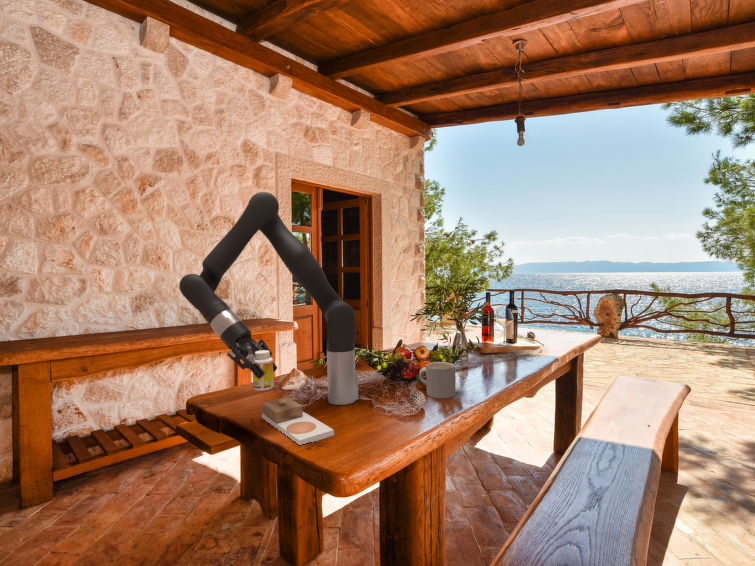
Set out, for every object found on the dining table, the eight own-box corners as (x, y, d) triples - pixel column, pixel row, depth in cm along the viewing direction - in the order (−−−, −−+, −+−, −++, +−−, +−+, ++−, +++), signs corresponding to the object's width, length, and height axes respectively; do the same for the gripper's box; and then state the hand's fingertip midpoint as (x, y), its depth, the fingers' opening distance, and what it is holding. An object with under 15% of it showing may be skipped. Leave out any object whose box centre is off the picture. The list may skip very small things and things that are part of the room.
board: (292, 409, 124) (292, 397, 124) (333, 435, 104) (333, 420, 104) (261, 417, 118) (261, 404, 118) (299, 446, 98) (299, 431, 98)
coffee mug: (461, 393, 136) (461, 365, 136) (442, 400, 130) (442, 370, 130) (432, 385, 147) (432, 359, 146) (413, 391, 140) (413, 363, 140)
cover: (288, 406, 122) (287, 394, 122) (302, 416, 114) (302, 402, 114) (263, 413, 117) (262, 399, 117) (276, 423, 109) (276, 408, 109)
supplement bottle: (275, 384, 112) (274, 349, 112) (271, 390, 107) (270, 353, 106) (255, 385, 112) (254, 349, 112) (250, 391, 106) (249, 354, 106)
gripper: (221, 323, 104) (261, 371, 101) (253, 317, 118) (290, 358, 115) (205, 342, 106) (244, 390, 103) (239, 334, 120) (275, 375, 116)
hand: (268, 373), depth 109 cm, fingers closed on supplement bottle, 5 cm apart
